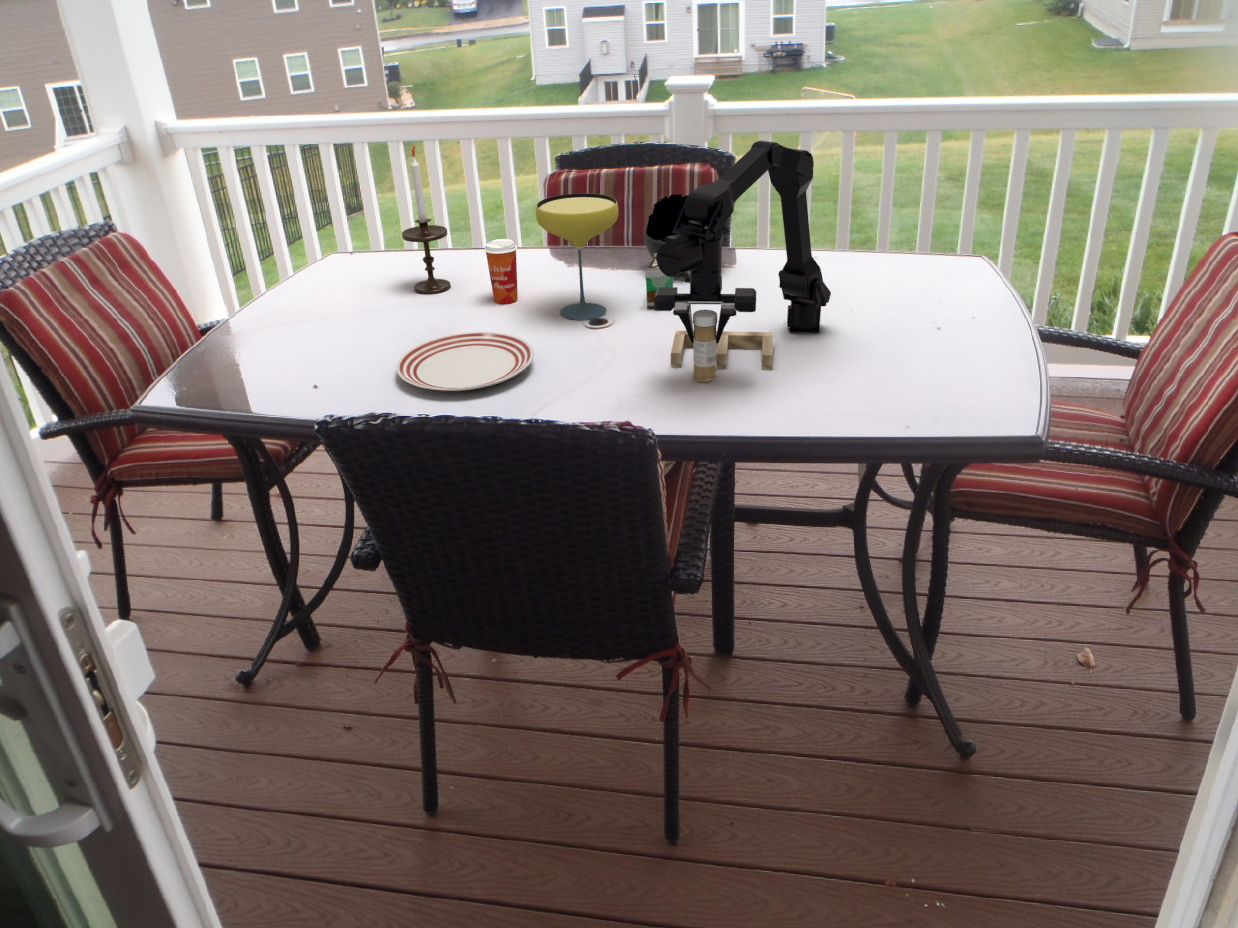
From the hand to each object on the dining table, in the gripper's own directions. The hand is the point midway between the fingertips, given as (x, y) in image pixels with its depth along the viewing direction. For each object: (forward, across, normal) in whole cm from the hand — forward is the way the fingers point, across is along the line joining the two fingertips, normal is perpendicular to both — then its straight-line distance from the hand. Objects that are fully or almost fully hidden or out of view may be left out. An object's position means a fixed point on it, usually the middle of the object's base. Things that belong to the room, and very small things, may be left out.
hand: (704, 342), depth 176 cm
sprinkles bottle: (+8, 0, 0) cm, 8 cm away
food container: (+8, +12, -42) cm, 44 cm away
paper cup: (+8, +50, -42) cm, 66 cm away
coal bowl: (+8, +9, -65) cm, 66 cm away
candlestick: (+8, +71, -50) cm, 87 cm away
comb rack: (+8, -3, -11) cm, 14 cm away
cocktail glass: (+8, +30, -35) cm, 47 cm away
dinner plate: (+8, +48, -1) cm, 49 cm away
